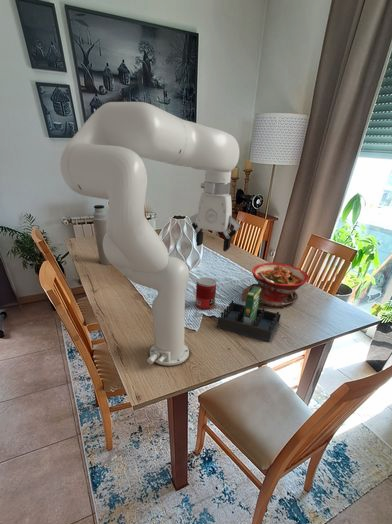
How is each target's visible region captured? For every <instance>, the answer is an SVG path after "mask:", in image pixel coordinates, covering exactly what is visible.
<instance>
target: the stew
mask: <svg viewBox="0 0 392 524" xmlns="http://www.w3.org/2000/svg"><path fill="white" fill-rule="evenodd" d="M251 272H252V273H251V274H252V276H253V278H254V279H255V281H256V283H253V284H251V285H249V286H247V287H245V288H244V289H243V291H242V293H241V295H240V296H241V298H240V299H241V301H242V302H245V303H246V299H247V294H248V293H249V292H250V291H251V290H252V288H253V287H254V286H256V287H260V288H261V292H260V297H259V302H258V307H261V308H269V309H270V308H272V309H274V308H275V309H280V308H287V307H289V306H292V304H293V303H295V302H296V301H297V300H298V298H299V294H298V293H297V292H296V291H297V290H298V289H299V288H301V287H303V285H305V284H306V283H307V282H308V281H309V279H310V278H309V275H308V273H307V272H305V271H304V270H303V269H301V268H299V267H296V266H293V265H290V264H287V263H281V262H265V263H259V264H256V265H255V266H254V267H252V270H251ZM285 299H286V300H287V301H286V300H285ZM285 301H286V302H285Z"/></svg>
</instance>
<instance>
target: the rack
mask: <svg viewBox="0 0 392 524" xmlns="http://www.w3.org/2000/svg"><path fill="white" fill-rule="evenodd" d="M245 305H246V303H245V304H242V303H237V302H234V299H233V300H231V301H230V302H229V304H228V305H226V308H224V309H223V311H221V312H220V316H217V323H216V324H217V325H216V327H217V328H220V329H223V330H226V331H230V332H234V333H237V334H241V335H243V336H246V337H247V336H248V337H251V338H254V339H258V340H261V341H265V342H268V343H270V341H271V339H272V338H273V336H274V334H275V332H276V330H277V328H278V326H279V324H280V319H281V316H282V315H281V313H280V311H276V312H274V311H273V312H272V311H269V310H265V308H266V307H262V309H261V308H257V314H256V319H255V320H254V321H253V323H252V324H251V325H248V324H244V323H243V317H244V311H245Z"/></svg>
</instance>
